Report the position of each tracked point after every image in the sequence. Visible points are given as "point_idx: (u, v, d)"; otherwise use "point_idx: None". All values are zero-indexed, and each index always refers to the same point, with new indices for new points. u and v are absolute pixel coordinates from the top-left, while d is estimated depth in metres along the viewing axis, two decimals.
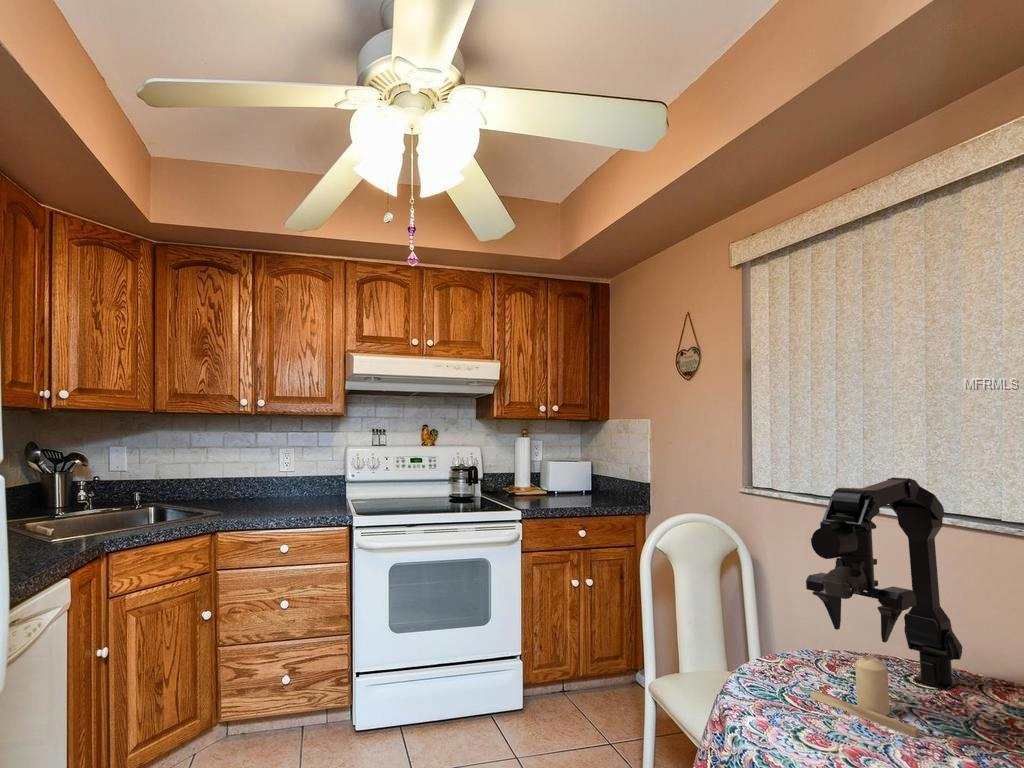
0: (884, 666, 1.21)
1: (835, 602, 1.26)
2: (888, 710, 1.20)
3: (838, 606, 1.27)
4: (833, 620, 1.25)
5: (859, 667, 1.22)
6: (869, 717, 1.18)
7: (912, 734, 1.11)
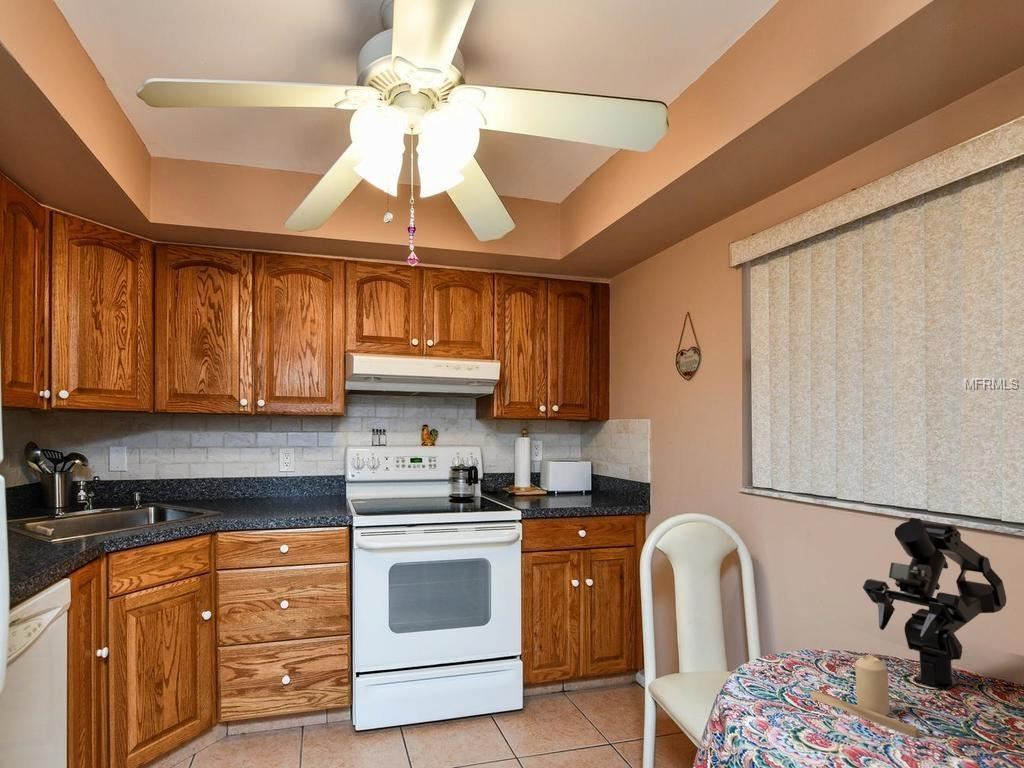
0: (884, 666, 1.21)
1: (888, 609, 1.35)
2: (888, 710, 1.20)
3: (889, 615, 1.35)
4: (881, 618, 1.33)
5: (859, 667, 1.22)
6: (869, 717, 1.18)
7: (912, 734, 1.11)
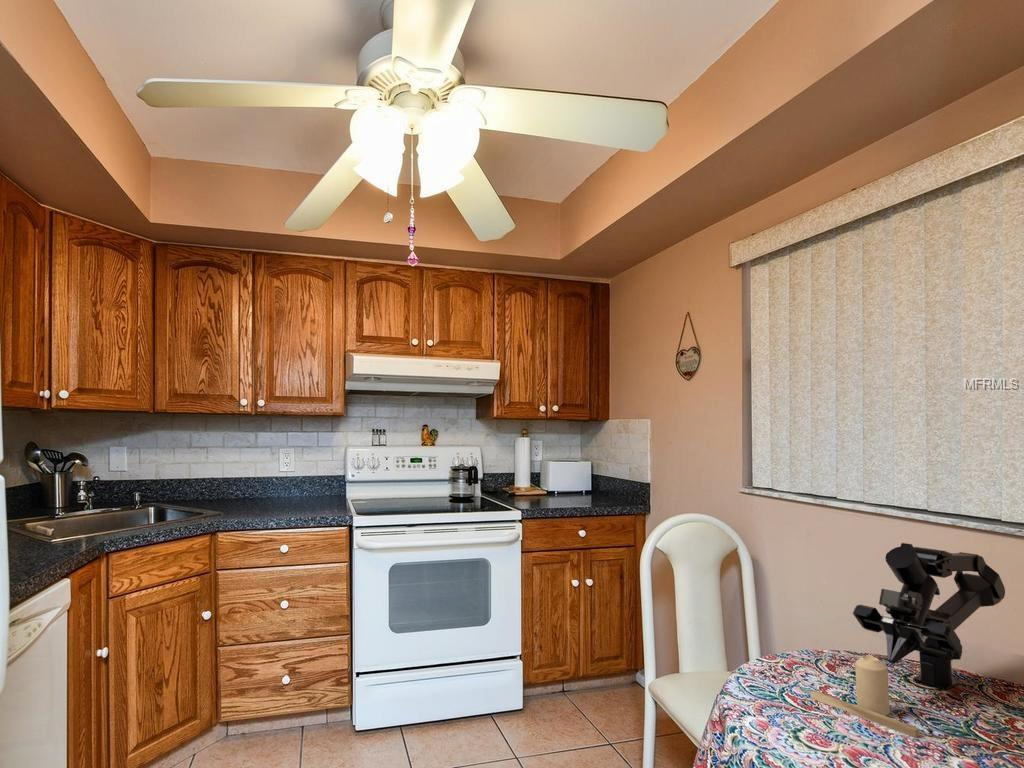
0: (884, 666, 1.21)
1: (897, 641, 1.29)
2: (888, 710, 1.20)
3: None
4: (889, 651, 1.27)
5: (859, 667, 1.22)
6: (869, 717, 1.18)
7: (912, 734, 1.11)
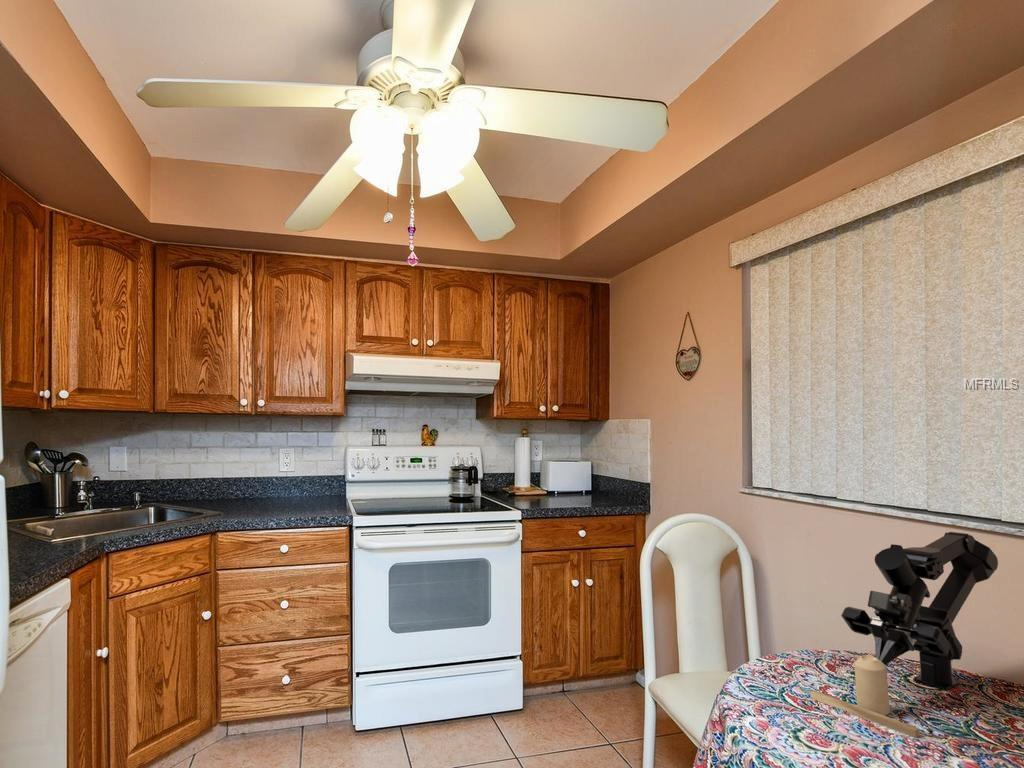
0: (883, 666, 1.21)
1: (885, 643, 1.27)
2: (888, 709, 1.20)
3: None
4: (878, 654, 1.25)
5: (858, 667, 1.22)
6: (869, 717, 1.18)
7: (912, 734, 1.11)
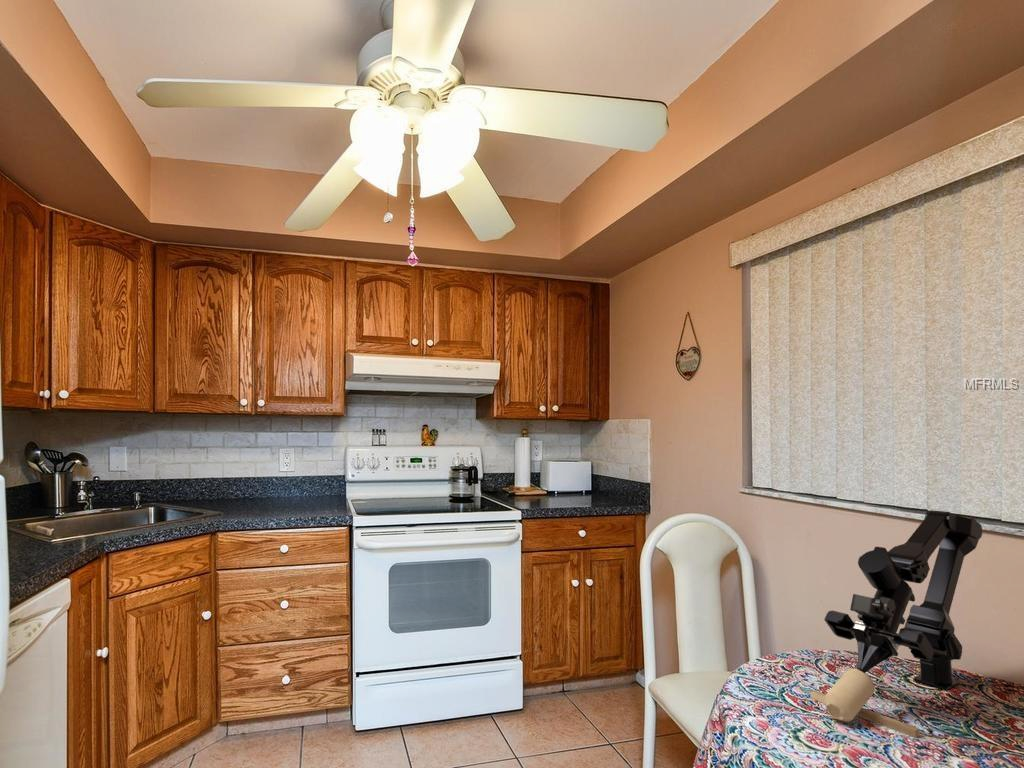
0: (847, 708, 1.15)
1: (868, 648, 1.24)
2: (870, 683, 1.19)
3: None
4: (860, 659, 1.22)
5: None
6: (869, 717, 1.18)
7: (912, 734, 1.11)
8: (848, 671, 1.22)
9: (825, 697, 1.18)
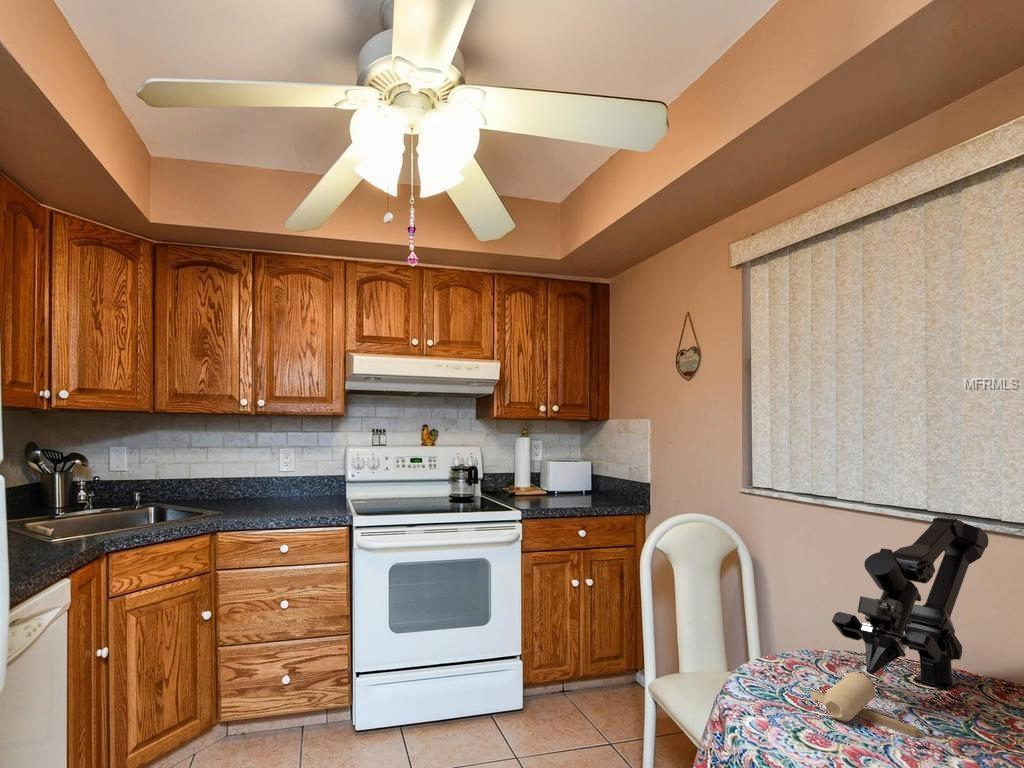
0: (846, 705, 1.16)
1: (876, 650, 1.25)
2: (870, 685, 1.20)
3: None
4: (868, 661, 1.23)
5: None
6: (869, 717, 1.18)
7: (912, 734, 1.11)
8: (848, 674, 1.23)
9: (825, 696, 1.19)
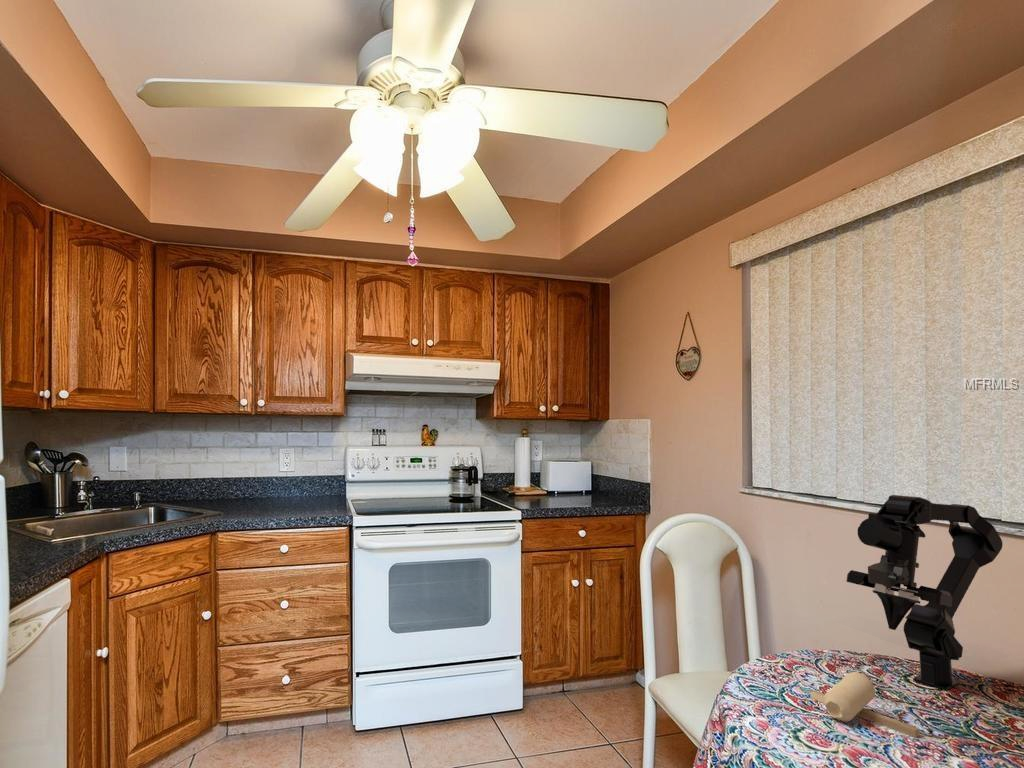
0: (846, 705, 1.16)
1: (893, 603, 1.33)
2: (870, 685, 1.20)
3: None
4: (889, 619, 1.31)
5: None
6: (869, 717, 1.18)
7: (912, 734, 1.11)
8: (848, 674, 1.23)
9: (825, 696, 1.19)
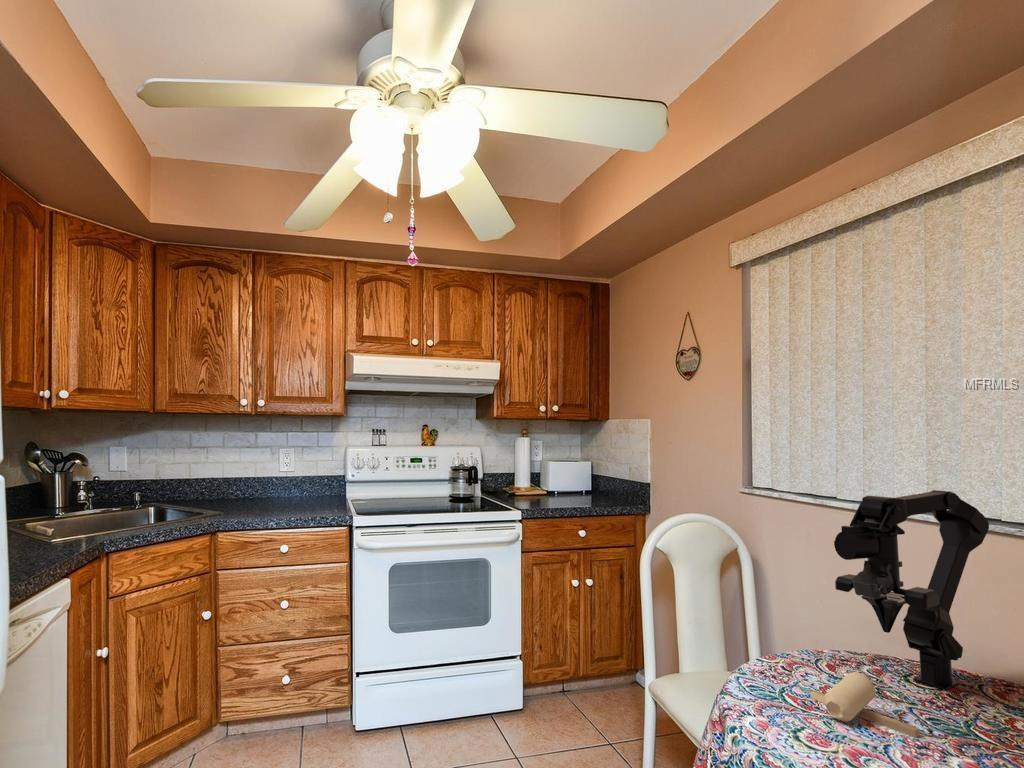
0: (847, 706, 1.16)
1: (883, 606, 1.33)
2: (870, 686, 1.20)
3: None
4: (882, 623, 1.32)
5: None
6: (869, 717, 1.18)
7: (912, 734, 1.11)
8: (849, 674, 1.23)
9: (825, 696, 1.19)
